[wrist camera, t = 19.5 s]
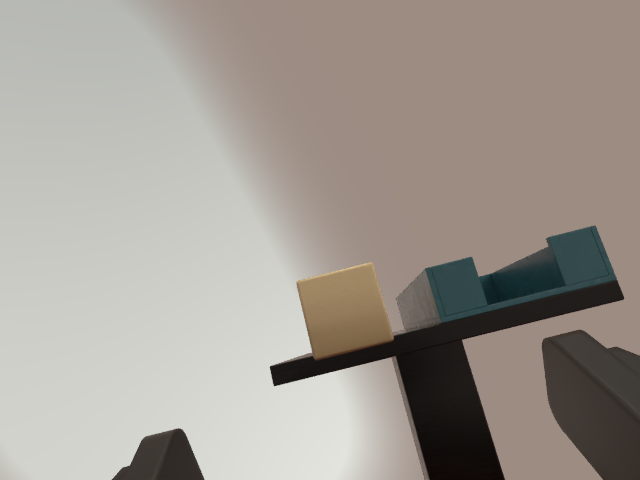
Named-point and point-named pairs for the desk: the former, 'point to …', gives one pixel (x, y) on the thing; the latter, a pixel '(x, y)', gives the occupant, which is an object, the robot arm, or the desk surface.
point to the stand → (448, 380)
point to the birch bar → (344, 311)
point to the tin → (505, 281)
